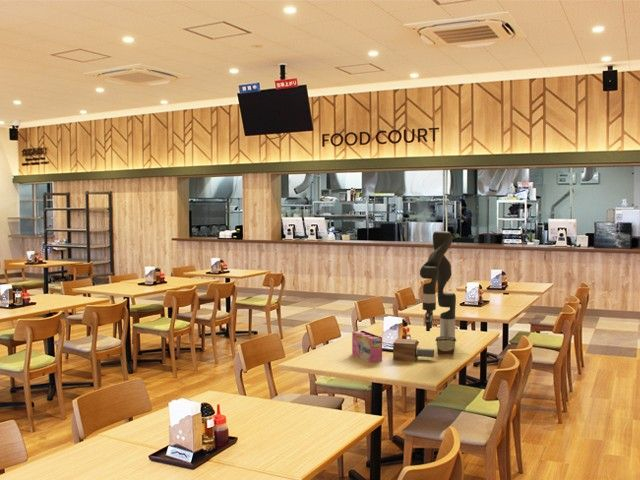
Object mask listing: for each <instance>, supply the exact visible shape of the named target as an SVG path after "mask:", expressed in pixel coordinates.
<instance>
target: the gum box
mask: <svg viewBox="0 0 640 480" xmlns="http://www.w3.org/2000/svg"><path fill="white" fill-rule="evenodd" d="M351 334H352V335H351V337H352V338H351V339H352V340H351V341H352V342H351V350H352V351H351V353H352V355H354V356H356V357H358V358H361V359H362V360H365V361H367V362H370V363H376V362H382V361H383V337H382V336H379V335H376V334H374V333H371V332H368V331H365V330H360V331H352V333H351Z"/></svg>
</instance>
